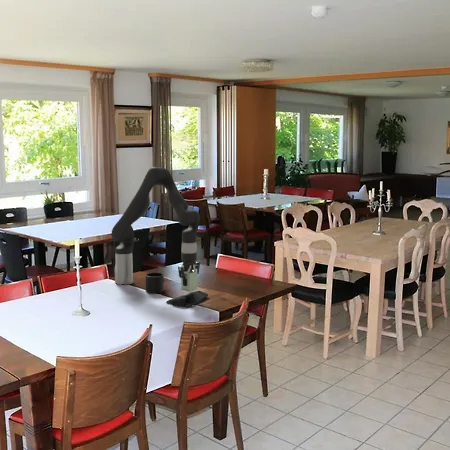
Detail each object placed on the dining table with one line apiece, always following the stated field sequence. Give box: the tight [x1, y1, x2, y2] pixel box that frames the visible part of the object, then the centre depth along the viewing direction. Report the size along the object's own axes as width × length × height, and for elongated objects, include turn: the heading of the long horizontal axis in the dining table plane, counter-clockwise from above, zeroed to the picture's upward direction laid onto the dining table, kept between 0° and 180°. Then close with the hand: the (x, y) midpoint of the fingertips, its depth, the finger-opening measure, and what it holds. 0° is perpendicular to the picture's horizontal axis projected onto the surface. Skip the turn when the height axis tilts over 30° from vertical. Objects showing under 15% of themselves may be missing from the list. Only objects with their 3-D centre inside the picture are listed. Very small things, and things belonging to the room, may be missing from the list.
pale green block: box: [180, 270, 198, 292], centre depth 276 cm, size 6×6×9 cm
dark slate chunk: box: [165, 290, 209, 309], centre depth 279 cm, size 15×22×5 cm
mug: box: [144, 272, 165, 294], centre depth 296 cm, size 9×12×9 cm
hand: (189, 284), depth 276 cm, fingers closed on pale green block, 5 cm apart
